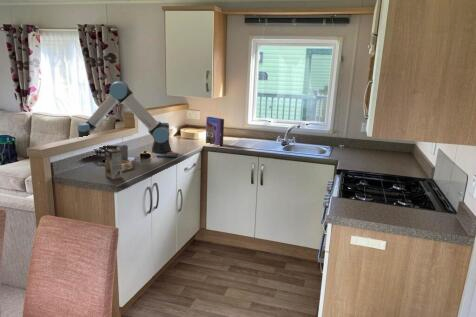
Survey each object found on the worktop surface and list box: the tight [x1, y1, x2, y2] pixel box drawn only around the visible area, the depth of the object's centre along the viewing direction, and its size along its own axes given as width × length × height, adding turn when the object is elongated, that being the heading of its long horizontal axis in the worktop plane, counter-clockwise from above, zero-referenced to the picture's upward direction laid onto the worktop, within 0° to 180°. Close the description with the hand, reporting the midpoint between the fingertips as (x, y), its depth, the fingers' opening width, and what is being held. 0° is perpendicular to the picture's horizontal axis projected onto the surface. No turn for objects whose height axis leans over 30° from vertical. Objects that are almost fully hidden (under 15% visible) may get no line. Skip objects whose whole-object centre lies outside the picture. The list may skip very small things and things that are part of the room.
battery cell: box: [118, 143, 129, 161], centre depth 233 cm, size 6×6×13 cm
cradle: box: [121, 160, 134, 172], centre depth 221 cm, size 11×10×4 cm
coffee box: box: [104, 148, 123, 180], centre depth 202 cm, size 9×6×16 cm
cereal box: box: [205, 116, 225, 146], centre depth 307 cm, size 17×5×24 cm, turn 48°
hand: (116, 151), depth 234 cm, fingers open, 13 cm apart
